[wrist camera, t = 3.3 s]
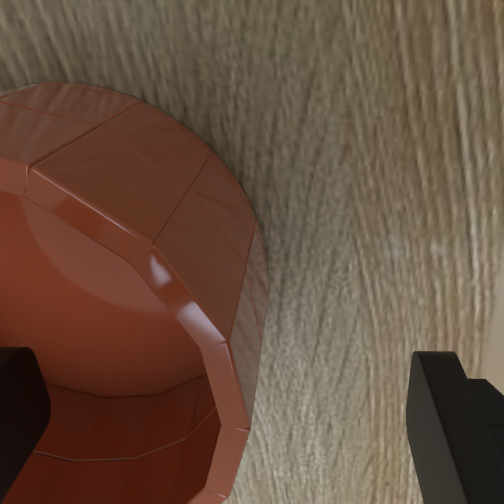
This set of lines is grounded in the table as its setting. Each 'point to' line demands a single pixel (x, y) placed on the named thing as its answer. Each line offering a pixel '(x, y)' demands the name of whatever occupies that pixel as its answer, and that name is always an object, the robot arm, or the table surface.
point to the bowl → (127, 297)
